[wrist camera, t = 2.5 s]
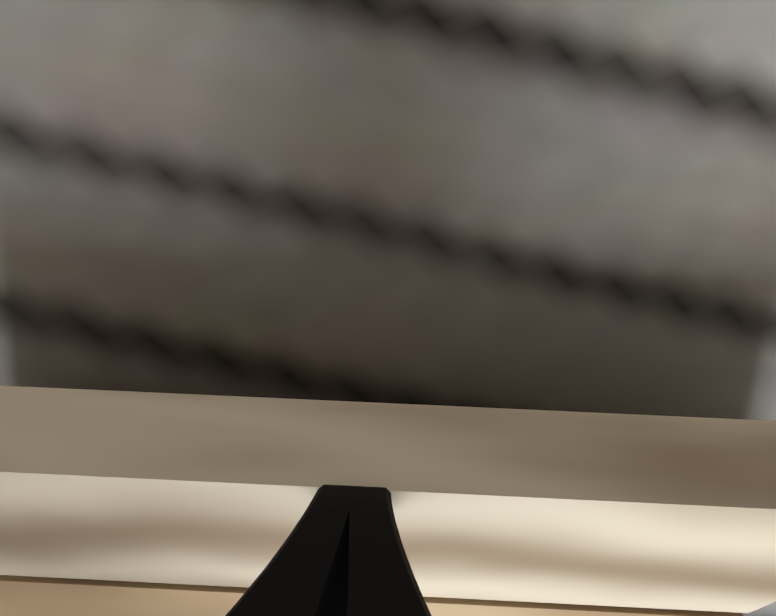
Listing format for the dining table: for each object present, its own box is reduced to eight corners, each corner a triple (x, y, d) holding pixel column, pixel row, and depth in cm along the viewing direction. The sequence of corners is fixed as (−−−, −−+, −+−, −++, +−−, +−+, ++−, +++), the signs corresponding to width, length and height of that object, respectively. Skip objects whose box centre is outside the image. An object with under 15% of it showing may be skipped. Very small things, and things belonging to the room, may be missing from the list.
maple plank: (721, 545, 17) (747, 613, 16) (20, 510, 18) (-14, 574, 16) (903, 426, 11) (970, 518, 10) (-162, 378, 12) (-238, 460, 10)
